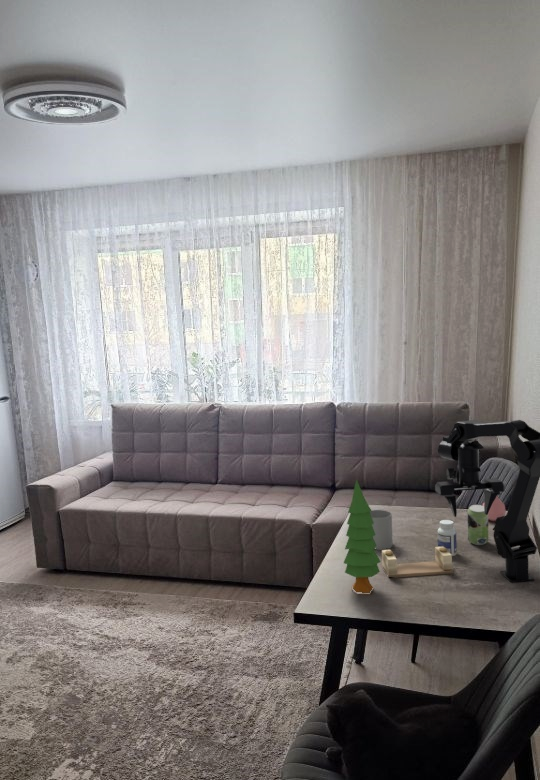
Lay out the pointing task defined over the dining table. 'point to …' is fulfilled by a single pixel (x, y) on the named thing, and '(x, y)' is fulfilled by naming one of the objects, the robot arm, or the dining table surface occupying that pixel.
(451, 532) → the pill bottle
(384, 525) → the cup
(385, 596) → the dining table surface
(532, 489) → the robot arm
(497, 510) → the perfume bottle
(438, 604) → the dining table surface
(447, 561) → the jaw
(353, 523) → the decorative tree
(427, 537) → the dining table surface
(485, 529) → the beverage can
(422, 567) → the wooden cradle stand
